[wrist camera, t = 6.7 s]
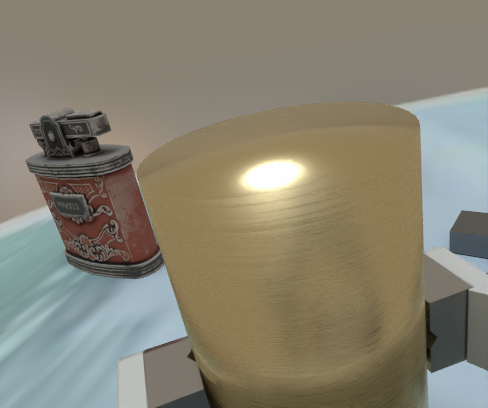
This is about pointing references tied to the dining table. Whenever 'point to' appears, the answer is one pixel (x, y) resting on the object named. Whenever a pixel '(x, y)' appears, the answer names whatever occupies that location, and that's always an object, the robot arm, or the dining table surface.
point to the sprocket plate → (470, 234)
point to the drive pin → (298, 255)
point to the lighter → (93, 196)
